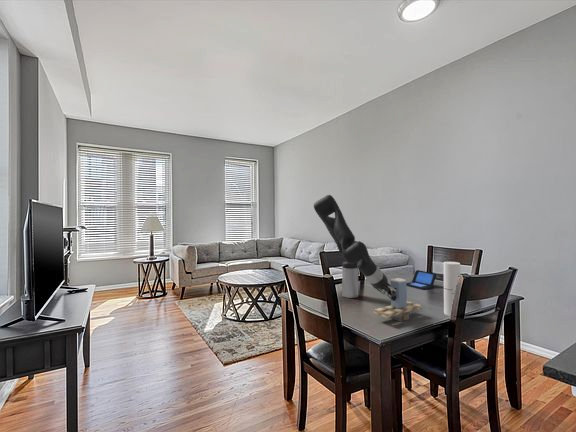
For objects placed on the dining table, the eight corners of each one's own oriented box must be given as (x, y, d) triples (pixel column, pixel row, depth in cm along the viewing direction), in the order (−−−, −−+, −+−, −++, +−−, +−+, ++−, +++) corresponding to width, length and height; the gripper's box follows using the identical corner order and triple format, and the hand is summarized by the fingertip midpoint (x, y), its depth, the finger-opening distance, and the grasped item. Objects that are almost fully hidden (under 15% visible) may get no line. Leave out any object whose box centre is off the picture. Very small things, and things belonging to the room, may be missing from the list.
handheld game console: (403, 285, 205) (403, 272, 205) (416, 282, 212) (416, 269, 212) (424, 290, 192) (424, 276, 192) (437, 287, 199) (437, 273, 198)
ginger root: (386, 325, 134) (386, 314, 134) (373, 320, 141) (372, 309, 141) (421, 315, 146) (421, 305, 146) (407, 310, 153) (407, 300, 153)
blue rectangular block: (399, 312, 141) (399, 281, 141) (390, 309, 145) (390, 279, 145) (407, 310, 143) (406, 280, 143) (398, 307, 148) (397, 277, 148)
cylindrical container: (445, 310, 153) (445, 261, 152) (461, 313, 148) (461, 262, 148) (442, 314, 147) (441, 263, 147) (459, 317, 143) (458, 264, 142)
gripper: (360, 280, 141) (379, 302, 147) (382, 286, 129) (402, 309, 136) (368, 267, 143) (387, 289, 150) (390, 272, 132) (410, 296, 138)
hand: (394, 299), depth 143 cm, fingers closed
